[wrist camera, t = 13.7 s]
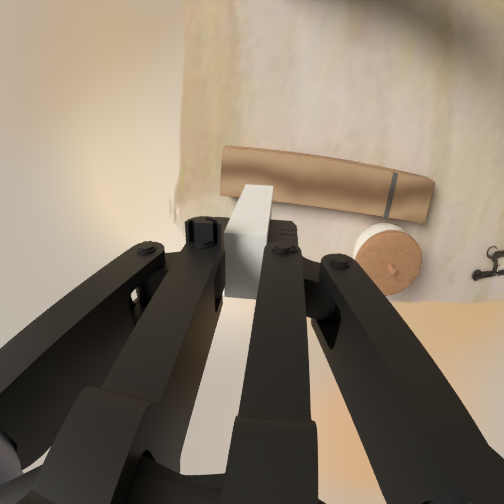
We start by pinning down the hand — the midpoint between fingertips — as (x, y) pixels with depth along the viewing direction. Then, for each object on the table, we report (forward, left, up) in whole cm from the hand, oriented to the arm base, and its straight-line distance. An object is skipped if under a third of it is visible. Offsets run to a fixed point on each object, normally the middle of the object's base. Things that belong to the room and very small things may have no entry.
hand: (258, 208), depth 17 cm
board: (+4, +9, -29) cm, 31 cm away
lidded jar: (+14, +19, -30) cm, 38 cm away
